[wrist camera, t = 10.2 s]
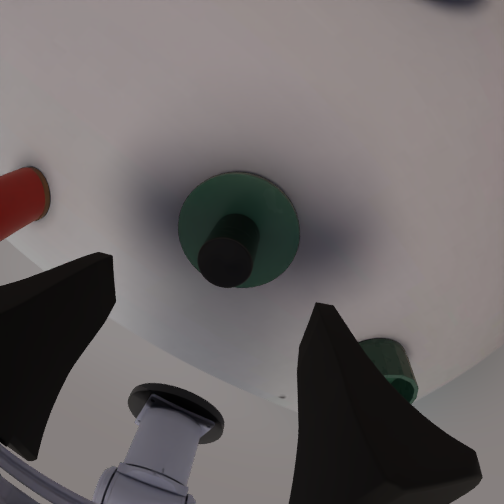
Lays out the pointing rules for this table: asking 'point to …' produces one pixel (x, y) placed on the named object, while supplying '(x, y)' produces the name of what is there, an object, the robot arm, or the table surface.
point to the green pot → (392, 365)
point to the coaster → (46, 191)
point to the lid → (239, 230)
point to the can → (20, 200)
